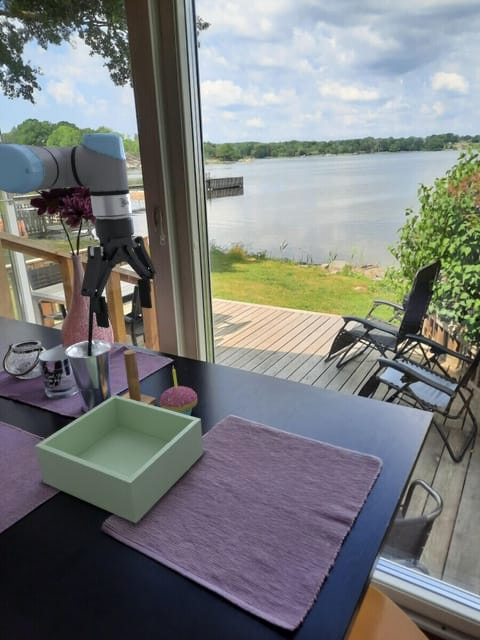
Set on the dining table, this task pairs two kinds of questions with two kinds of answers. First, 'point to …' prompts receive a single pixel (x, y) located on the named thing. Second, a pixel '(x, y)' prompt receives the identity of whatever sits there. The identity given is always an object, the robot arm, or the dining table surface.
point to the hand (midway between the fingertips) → (126, 316)
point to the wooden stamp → (135, 380)
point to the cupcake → (178, 398)
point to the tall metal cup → (91, 368)
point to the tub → (121, 455)
